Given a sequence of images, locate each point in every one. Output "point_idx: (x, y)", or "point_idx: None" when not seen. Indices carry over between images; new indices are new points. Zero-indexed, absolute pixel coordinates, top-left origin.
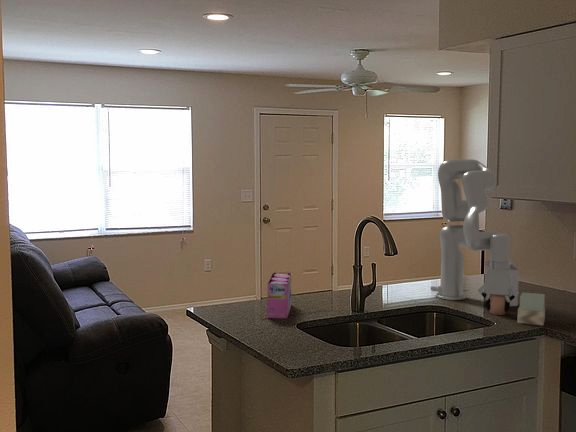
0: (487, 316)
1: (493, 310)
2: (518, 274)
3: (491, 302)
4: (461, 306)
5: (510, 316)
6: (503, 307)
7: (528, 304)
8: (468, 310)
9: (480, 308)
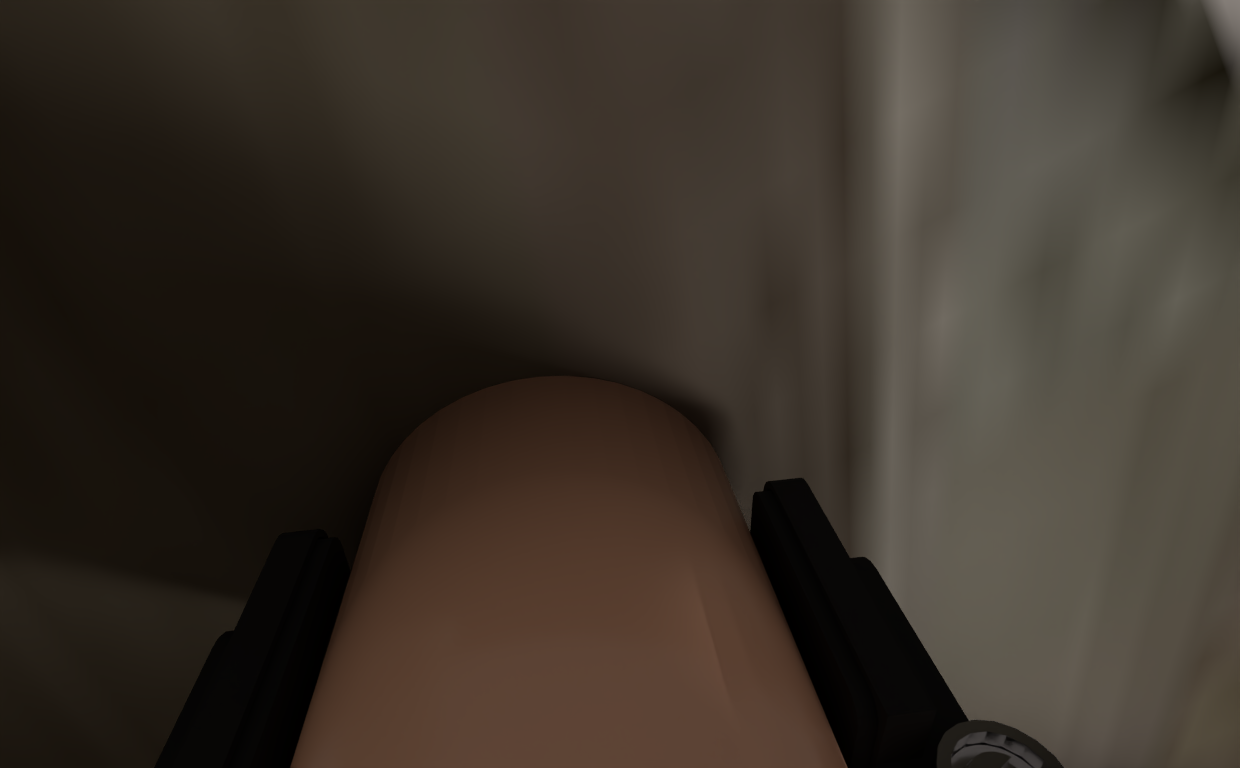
0: (738, 24)
1: (636, 442)
2: None
3: (771, 653)
4: (1237, 637)
5: (147, 372)
6: (346, 598)
7: None
8: (1177, 438)
9: None
